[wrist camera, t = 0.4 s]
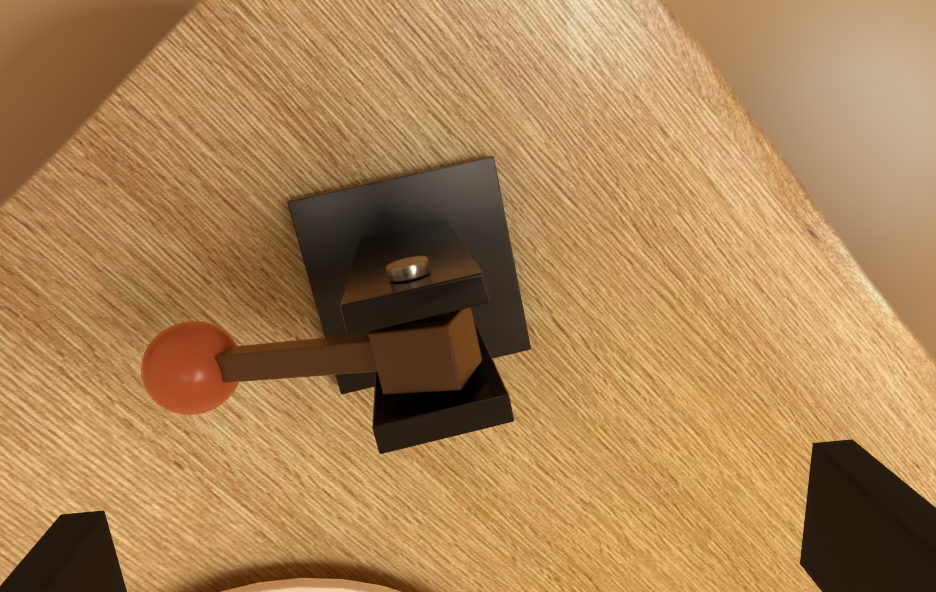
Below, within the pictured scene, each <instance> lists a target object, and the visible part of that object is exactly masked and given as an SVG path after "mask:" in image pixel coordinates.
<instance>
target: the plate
mask: <svg viewBox="0 0 936 592" xmlns="http://www.w3.org/2000/svg"><path fill="white" fill-rule="evenodd" d="M221 592H401V591H398V590H395V589H392V588H388V587H385V586H381V585H375V584H369V583H363V582H358V581H352V580H346V579H324V578H295V579H286V580H276V581H267V582H258V583H254V584H250V585H246V586H242V587H238V588H234V589H229V590H225V591H221Z"/></svg>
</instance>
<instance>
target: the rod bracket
mask: <svg viewBox="0 0 936 592" xmlns="http://www.w3.org/2000/svg"><path fill="white" fill-rule="evenodd" d="M287 203H288V207H289V210H290V214H291V217H292V221H293V225H294V228H295V232H296V235H297V239H298V243H299V246H300V250H301V253H302V257H303V260H304V264H305V268H306V271H307V275H308V278H309V282H310V285H311V289H312V293H313V296H314V300H315V303H316V307H317V311H318V314H319V318H320V321H321V325H322V328H323V332H324V336H325V338H329V337H339V336H352V335H360V334H369V333H370V332H371V331H373V330H377V329H382V328H386V327H390V326H395V325H399V324H403V323H407V322H412V321H416V320H420V319H425V318H429V317H433V316H437V315H442V314H446V313H450V312H454V311H459V310H463V309H467V308H471V311H472V316H473V320H474V325H475V330H476V334H477V339H478V344H479V348H480V353H481V358H482V361H481V363H480V364H479V365H478V367H477V368H476V370H475V371H474V372H473V374H472V375H471V376H470V378H469V379H468V381H467V382H466V383H465V385H464V386H463V388H462V389H461V390H454V391H437V392H420V393H402V394H384V393H383V391H382V387H381V383H380V379H379V375H378V372H364V373H350V374H337V375H336V378H337V382H338V386H339V389H340V393H341V394H345V393H350V392H354V391H358V390H362V389H366V388H371V387H375V391H374V408H373V425H372V428H373V432H374V436H375V439H376V443H377V447H378V450H379V453H380V454H383V453H387V452H391V451H395V450H399V449H403V448H407V447H412V446H416V445H420V444H424V443H428V442H432V441H436V440H440V439H444V438H448V437H452V436H456V435H460V434H465V433H469V432H473V431H477V430H481V429H485V428H489V427H493V426H497V425H501V424H505V423H509V422H513V421H514V417H513V412H512V407H511V403H510V398H509V394H508V392H507V389H506V387H505V385H504V383H503V381H502V378H501V376H500V374H499V372H498V370H497V368H496V365H495V363H494V361H493V359H492V358H496V357H500V356H504V355H509V354H513V353H517V352H521V351H525V350H530V349H531V346H530V341H529V336H528V331H527V326H526V320H525V315H524V310H523V305H522V300H521V295H520V290H519V284H518V279H517V274H516V269H515V264H514V259H513V253H512V248H511V243H510V238H509V233H508V228H507V222H506V217H505V212H504V207H503V202H502V197H501V191H500V186H499V181H498V176H497V171H496V166H495V161H494V157H493V156H485V157H481V158H476V159H472V160H467V161H462V162H458V163H453V164H449V165H444V166H440V167H435V168H431V169H426V170H421V171H417V172H412V173H408V174H403V175H399V176H394V177H390V178H385V179H380V180H376V181H371V182H367V183H362V184H358V185H353V186H349V187H344V188H339V189H335V190H330V191H326V192H321V193H317V194H312V195H308V196H303V197H298V198H294V199H291V200H289V201H288V202H287Z"/></svg>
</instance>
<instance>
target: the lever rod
mask: <svg viewBox="0 0 936 592" xmlns="http://www.w3.org/2000/svg"><path fill="white" fill-rule="evenodd" d="M481 361H482V358H481V353H480V348H479V344H478V339H477V334H476V330H475V325H474V320H473V316H472V311H471V308H467V309H463V310H459V311H454V312H450V313H446V314H442V315H437V316H433V317H429V318H425V319H420V320H416V321H412V322H407V323H403V324H399V325H395V326H390V327H386V328H382V329H377V330H373V331H371V332H370V333H369V334H360V335H352V336H339V337H329V338H318V339H308V340H298V341H287V342H277V343H267V344H256V345H246V346H237V345H236V343H235V342H234V340H233V339H232V338H231V337H230V336H229V335H228V334H227V333H226V332H225V331H223V330H222V329H220V328H219V327H217V326H214V325H212V324H209V323H206V322H199V321H187V322H182V323H178V324H175V325H173V326H170V327H168V328H166V329H165V330H163V331H162V332H160V333H159V334H158V335H157V336H156V337H155V338H154V339H153V340H152V341H151V343H150V344H149V345H148V347H147V349H146V351H145V353H144V356H143V359H142V364H141V376H142V381H143V384H144V387H145V389H146V391H147V392H148V394H149V395H150V397H151V398H152V399H153V400H154V401H155V402H156V403H157V404H159V405H160V406H161V407H163V408H165V409H167V410H169V411H171V412H174V413H178V414H185V415H194V414H201V413H205V412H208V411H210V410H213V409H215V408H217V407H218V406H220V405H221V404H223V403H224V402H225V401H226V400H227V399H228V398H229V397H230V396H231V395H232V394H233V392H234V391H235V389H236V387H237V385H238V383H239V382H240V381H254V380H268V379H282V378H295V377H309V376H323V375H337V374H350V373H364V372H378V375H379V379H380V383H381V387H382V391H383V393H384V394H402V393H420V392H437V391H454V390H461V389H462V388H463V386H464V385H465V383H466V382H467V381H468V379H469V378H470V376H471V375H472V374H473V372H474V371H475V370H476V368H477V367H478V365H479V364H480V363H481Z"/></svg>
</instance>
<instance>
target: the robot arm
mask: <svg viewBox="0 0 936 592" xmlns="http://www.w3.org/2000/svg"><path fill="white" fill-rule="evenodd" d="M800 564H801V566H802V567H803V568H804V569H805V571H806V572H807V573H808V575H809V576H810V577H811V578H812V580H813V581H814V582H815V583H816V585H817V586H818V587H819V588H820V590H821V591H822V592H936V508H935V507H934V506H933V505H932V504H930V503H929V502H928V501H927V500H925V499H924V498H923V497H922V496H921V495H919V494H918V493H917V492H916V491H914V490H913V489H912V488H911V487H910V486H908V485H907V484H906V483H905V482H904V481H902V480H901V479H900V478H899V477H897V476H896V475H895V474H894V473H893V472H891V471H890V470H889V469H888V468H886V467H885V466H884V465H883V464H882V463H880V462H879V461H878V460H877V459H876V458H874V457H873V456H872V455H871V454H869V453H868V452H867V451H866V450H865V449H863V448H862V447H861V446H860V445H858V444H857V443H856V442H855V441H854V440H841V441H831V442H820V443H813V447H812V456H811V465H810V475H809V484H808V493H807V503H806V512H805V521H804V531H803V540H802V549H801V559H800ZM0 592H127V590H126V587H125V583H124V580H123V576H122V573H121V569H120V565H119V562H118V558H117V555H116V551H115V547H114V544H113V540H112V537H111V533H110V530H109V526H108V522H107V519H106V515H105V512H104V511H94V512H83V513H73V514H62V515H60V516H59V517H58V519H57V520H56V521H55V522H54V523H53V524H52V526H51V527H50V528H49V529H48V530H47V532H46V533H45V534H44V535H43V536H42V537H41V539H40V540H39V541H38V542H37V543H36V544H35V546H34V547H33V548H32V549H31V550H30V552H29V553H28V554H27V555H26V556H25V557H24V559H23V560H22V561H21V562H20V563H19V564H18V566H17V567H16V568H15V569H14V570H13V572H12V573H11V574H10V575H9V576H8V577H7V579H6V580H5V581H4V582H3V583H2V585H1V586H0Z"/></svg>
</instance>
